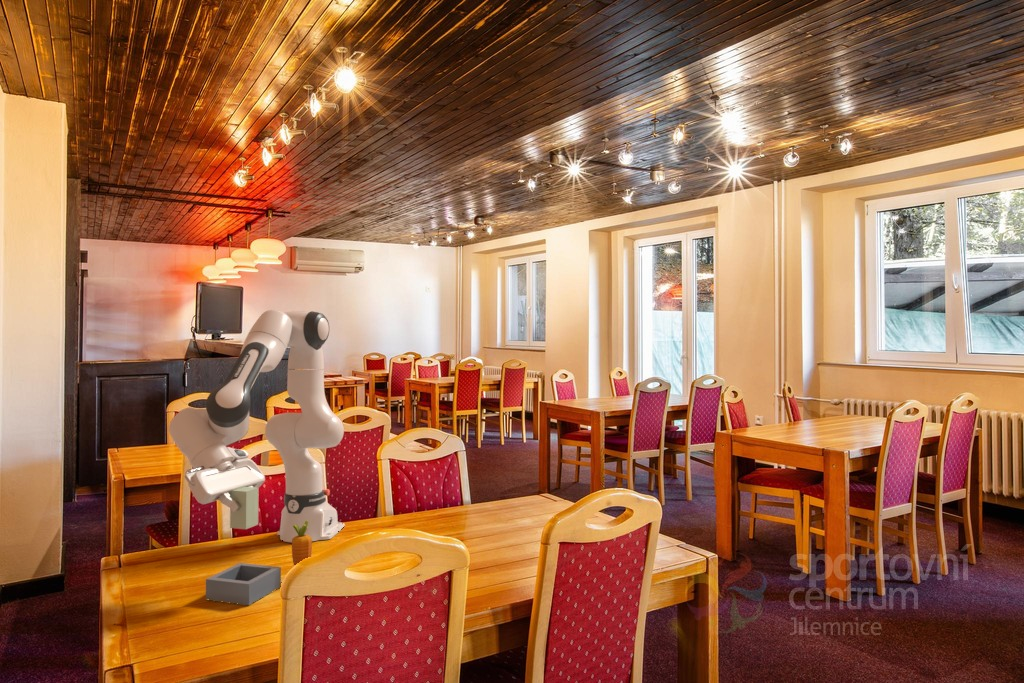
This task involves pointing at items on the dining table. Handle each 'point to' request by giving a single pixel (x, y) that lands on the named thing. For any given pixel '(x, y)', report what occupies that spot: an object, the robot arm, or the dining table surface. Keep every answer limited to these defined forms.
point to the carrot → (301, 544)
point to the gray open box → (243, 583)
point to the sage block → (245, 508)
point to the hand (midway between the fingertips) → (246, 506)
